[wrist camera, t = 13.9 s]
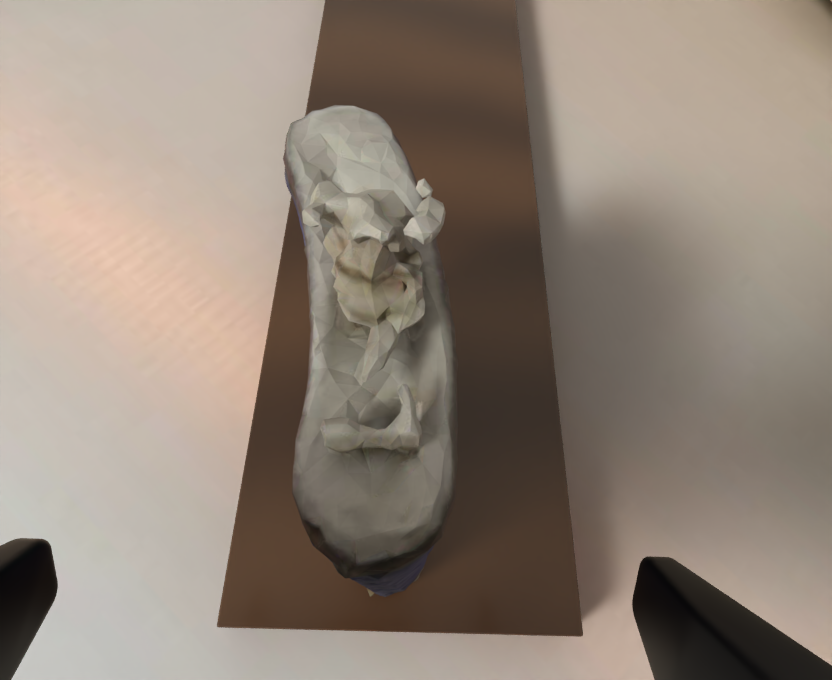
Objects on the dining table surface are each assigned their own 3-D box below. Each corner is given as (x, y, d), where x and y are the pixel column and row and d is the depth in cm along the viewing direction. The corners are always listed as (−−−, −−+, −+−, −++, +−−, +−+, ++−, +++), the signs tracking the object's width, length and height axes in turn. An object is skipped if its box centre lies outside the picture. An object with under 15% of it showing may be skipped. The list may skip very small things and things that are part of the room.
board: (566, 634, 16) (584, 636, 14) (230, 626, 16) (215, 627, 14) (500, -70, 34) (504, -98, 33) (345, -81, 34) (343, -110, 33)
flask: (323, 315, 19) (260, 9, 9) (405, 308, 19) (427, 4, 10) (342, 604, 15) (267, 590, 5) (447, 588, 15) (559, 547, 5)
